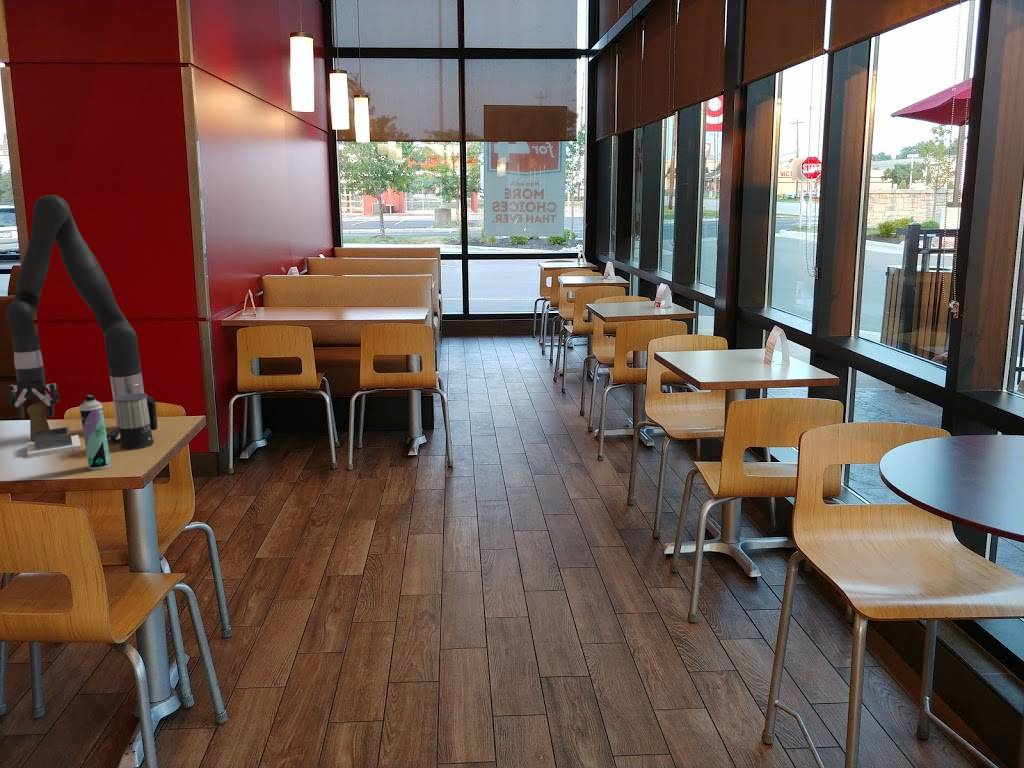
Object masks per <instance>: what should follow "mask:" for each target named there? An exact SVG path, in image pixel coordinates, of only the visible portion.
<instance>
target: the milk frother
mask: <svg viewBox="0 0 1024 768" xmlns="http://www.w3.org/2000/svg"><path fill="white" fill-rule="evenodd" d="M114 401H115V404H116V411H117V417H118V424H119V428H118V429H117V428H116V429H113V430H111V431H110V432H108V433H106V436H107V442H108V444H119V443H120V447H119V448H120V449H123V450H136V449H142V448H148V447H150V446H152V445H153V444H154V443H155V441H154V439H153V433H152V431H156V430H157V429H158V417H157V416H158V415H157V405H156V401H155V400H154V398H153V397H151V396H149V395H148V394H147V393H145V392H144V393H133V394H126V395H121V396H118V397H116V398H114ZM118 436H120V437H119V438H118Z"/></svg>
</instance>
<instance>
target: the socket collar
mask: <svg viewBox="0 0 1024 768" xmlns="http://www.w3.org/2000/svg"><path fill="white" fill-rule="evenodd" d="M33 434H34V443H35V449H36V451H37V450H43V449H50V448H56V447H63V446H69V445H72V439H71V436H72V434H71V430H70V426H65V427H58V428H57V427H56V428H50V429H49V430H43V431H36V432H33Z"/></svg>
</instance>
